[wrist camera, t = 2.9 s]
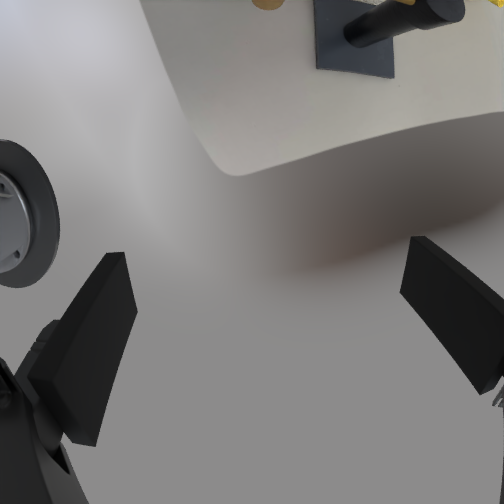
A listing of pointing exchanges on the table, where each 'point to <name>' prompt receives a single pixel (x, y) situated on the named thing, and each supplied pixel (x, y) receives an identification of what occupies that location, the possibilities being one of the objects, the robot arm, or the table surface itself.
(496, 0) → the teapot
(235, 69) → the table surface
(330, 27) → the square base plate
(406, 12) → the spout
